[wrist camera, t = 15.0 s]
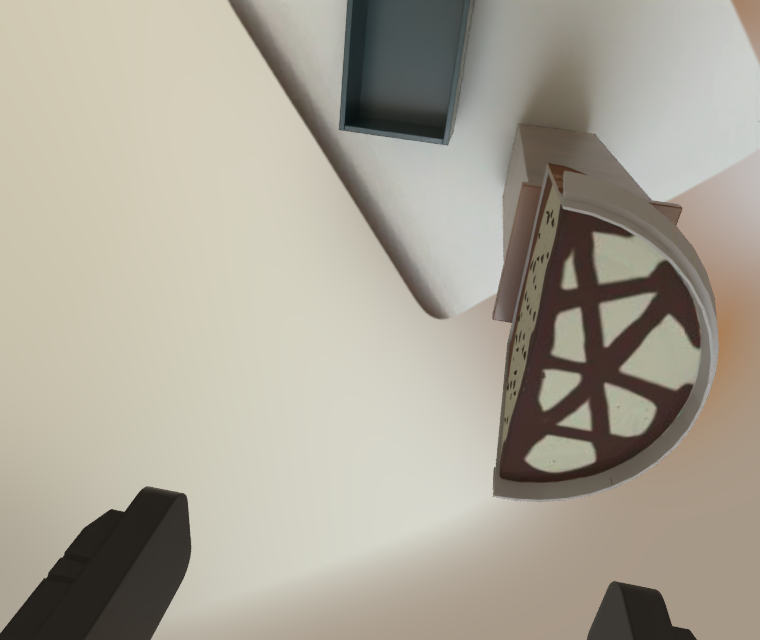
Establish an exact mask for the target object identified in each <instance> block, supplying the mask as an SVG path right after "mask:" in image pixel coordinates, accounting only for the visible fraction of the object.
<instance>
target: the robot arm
mask: <svg viewBox="0 0 760 640" xmlns="http://www.w3.org/2000/svg"><path fill="white" fill-rule="evenodd" d="M190 555H191V538H190V525H189V512H188V501H187V497H186V495H185V494H184V493H178V492H173V491H168V490H163V489H158V488H154V487H145V488H143V489H142V490H141V491H140V492H139V493H138V494H137V496H136V497H135V499H134V500H133V501H132V502H131V504H130V505H129V507H128V508H127V509H126V511H125V512H122V511H117V510H113V509H111V510H109V511H108V512H106V513H105V514H103V515H102V516H101V517H99V518H98V519H96V520H95V521H94V522H92V523H91V524H89V525H88V526H86V527H85V528H84V529H83V530H82V531H81V533H80V534H79V535H78V536H77V538H76V539H75V540H74V541H73V543H72V544H71V545H70V546H69V548H68V549H67V550H66V551H65V554H64V556H63V558H60V559H59V560H58V561H57V563H56V564H55V565H54V567H53V568H52V569H51V570H50V572H49V573H48V577H47V578H46V579H45V578H44V579H43V581H42V582H41V583H40V584H39V585H38V587H37V588H36V589H35V591H34V592H33V593H32V594H31V595H30V597H29V598H28V599H27V601H26V602H25V603H24V604H23V606H22V607H21V608H20V609H19V611H18V612H17V613H16V614H15V616H14V617H13V618H12V619H11V621H10V622H9V623H8V625H7V626H6V627H5V628H4V630H3V631H2V632H1V633H0V640H151V638H152V636H153V634H154V632H155V630H156V629H157V627H158V625H159V623H160V621H161V619H162V617H163V616H164V614H165V612H166V610H167V608H168V606H169V605H170V603H171V601H172V599H173V597H174V595H175V593H176V592H177V590H178V588H179V586H180V584H181V582H182V580H183V578H184V576H185V573H186V571H187V568H188V564H189V560H190ZM587 640H697V639H696V638H695V637H694V635H693V634H692V633H691V631H690V630H689V629H684V628H678V627H674V626H672V624H671V621H670V618H669V614H668V612H667V608H666V605H665V602H664V599H663V597H662V595H661V594H660V592H659V591H658V590H655V589H650V588H646V587H641V586H636V585H630V584H625V583H620V582H615V581H614V582H612V583H611V584H610V585H609V587H608V589H607V592H606V594H605V596H604V598H603V601H602V603H601V605H600V607H599V610H598V612H597V614H596V617H595V619H594V621H593V624H592V626H591V628H590V631H589V633H588V637H587Z"/></svg>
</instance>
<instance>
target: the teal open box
mask: <svg viewBox="0 0 760 640" xmlns="http://www.w3.org/2000/svg"><path fill="white" fill-rule="evenodd" d="M473 4H474V0H348V1H347V16H346V31H345V46H344V62H343V77H342V92H341V107H340V123H339V130H343V131H350V132H357V133H364V134H371V135H378V136H385V137H392V138H400V139H407V140H414V141H421V142H428V143H435V144H443V145H448V144H449V142H450V139H451V137H452V135H453V132H454V125H455V119H456V113H457V106H458V100H459V93H460V87H461V81H462V74H463V68H464V62H465V55H466V49H467V43H468V36H469V30H470V23H471V17H472V11H473Z"/></svg>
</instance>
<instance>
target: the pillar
mask: <svg viewBox="0 0 760 640" xmlns="http://www.w3.org/2000/svg"><path fill="white" fill-rule="evenodd" d="M547 163H552V164H557V165H562V166H566V167H569V168H572V169H574V170H577V171H580V172H582V173H584V174H586V175H588V176H592V177H595V178H598V179H601V180H603V181H606V182H608V183H611V184H614V185H616V186H619V187H622V188H624V189H626V190H627V191H629V192H631V193H633V194H634V195H636V196H638V197H639V198H641V199H645V200H651V199H650V198H649V196H648V195H647V194H646V193H645V192H644V191H643V190H642V188H641V187H640V186H639V185H638V184H637V183H636V181H635V180H634V179H633V178H632V177H631V176H630V174H629V173H628V172H627V171H626V170H625V169H624V167H623V166H622V165H621V164H620V163H619V162H618V160H617V159H616V158H615V157H614V156H613V155H612V154H611V152H610V151H609V150H608V149H607V148H606V147H605V145H604V144H603V143H602V142H601V141H600V140H599V138H598V137H597V136H596V135H595V134H591V133H583V132H576V131H569V130H561V129H554V128H546V127H539V126H532V125H524V124H518V125H517V130H516V135H515V140H514V144H513V149H512V154H511V159H510V164H509V169H508V173H507V178H506V183H505V188H504V193H503V251H504V260H505V256H506V251H507V247H508V242H509V238H510V233H511V229H512V224H513V219H514V215H515V210H516V206H517V201H518V197H519V192H520V188H521V183H522V182H529V183H536V184H543V180H544V175H545V171H546V166H547Z"/></svg>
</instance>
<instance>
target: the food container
mask: <svg viewBox="0 0 760 640" xmlns="http://www.w3.org/2000/svg"><path fill="white" fill-rule="evenodd" d="M718 350H719V342H718V330H717V318H716V308H715V298H714V295H713V292H712V288H711V285H710V282H709V278H708V275H707V272H706V270H705V268H704V266H703V264H702V262H701V261H700V259H699V257H698V255H697V253H696V251H695V249H694V248H693V246H692V245H691V244H690V243H689V241H688V240H687V239H686V238H685V236H684V235H683V234H682V233H681V232H680V230H679V229H678V228H677V227H676V225H675V224H674V223H672V222H671V221H670V220H669V219H668V218H667V217H665V216H664V215H663V214H662V213H661V212H660V211H658V210H657V209H656V208H655V207H654V206H652V205H651V204H650V203H648V202H646V201H644V200H643V199H641V198H639V197H638V196H636V195H634V194H633V193H631V192H629V191H627V190H626V189H624V188H622V187H619V186H616V185H614V184H611V183H608V182H606V181H603V180H601V179H598V178H595V177H592V176H588V175H586V174H584V173H582V172H580V171H577V170H574V169H572V168H569V167H566V166H562V165H557V164H552V163H547V166H546V171H545V175H544V180H543V184H542V189H541V194H540V198H539V203H538V207H537V212H536V216H535V221H534V225H533V230H532V234H531V239H530V244H529V248H528V253H527V257H526V262H525V266H524V271H523V275H522V280H521V284H520V289H519V293H518V298H517V303H516V307H515V312H514V316H513V321H512V325H511V330H510V334H509V339H508V343H507V353H506V364H505V374H504V385H503V396H502V406H501V416H500V427H499V438H498V448H497V459H496V467H494V475H493V490H494V492H493V497H497V498H503V499H509V500H515V501H533V502H546V501H563V500H569V499H575V498H581V497H585V496H591V495H594V494H597V493H600V492H603V491H606V490H610V489H613V488H615V487H618V486H620V485H622V484H624V483H626V482H628V481H630V480H633V479H635V478H637V477H638V476H640V475H641V474H643V473H644V472H646V471H648V470H649V469H651V468H652V467H653V466H655V465H657V464H658V463H659V462H660V461H661V460H663V459H664V458H665V457H666V456H667V455H668V454H669V453H670V452H672V451H673V450H674V449H675V448H676V447H677V446H678V445H679V443H680V442H681V441H682V440H683V438H684V437H685V436H686V435H687V433H688V432H689V431H690V430H691V428H692V427H693V425H694V423H695V421H696V419H697V418H698V416H699V414H700V412H701V410H702V409H703V406H704V404H705V401H706V399H707V398H708V395H709V392H710V389H711V386H712V383H713V380H714V377H715V374H716V367H717V358H718Z"/></svg>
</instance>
